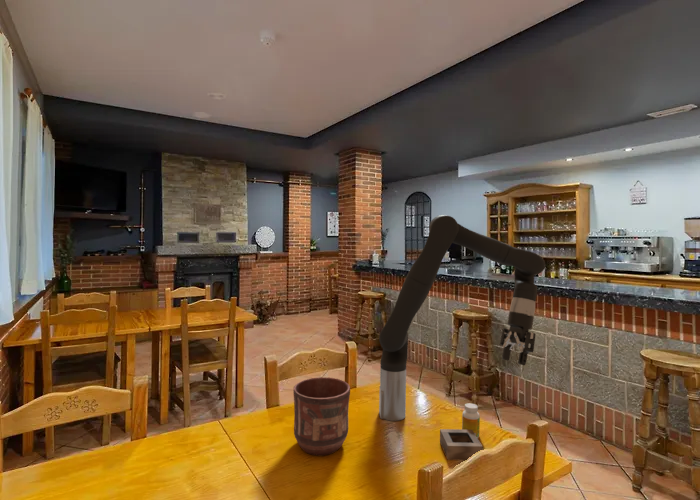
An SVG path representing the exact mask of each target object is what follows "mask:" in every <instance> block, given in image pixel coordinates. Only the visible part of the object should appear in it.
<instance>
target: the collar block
mask: <svg viewBox="0 0 700 500" xmlns="http://www.w3.org/2000/svg"><path fill="white" fill-rule="evenodd" d="M439 444H440V445H441V447H442V450H443V452H444V454H445V456H446V459H447V460H449V461H454V460H456V461H458V460H459V461H467V460H466V459H468V458H469V457H471V456H472V455H473V454H475V453H476V452H478V451H480V450H484V449H483V444H482V443H481V442H480V440H479V437H478V438H477V437H476V435H475V434H474V432H473V430H462V429H459V428H458V429H457V428H455V429H451V428H450V429H449V428H443V429H441V428H440V429H439Z"/></svg>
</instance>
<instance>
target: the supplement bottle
mask: <svg viewBox="0 0 700 500" xmlns="http://www.w3.org/2000/svg"><path fill="white" fill-rule="evenodd" d="M478 409H479V406H478V405H477V404H475V403H469V402H468V403H465V404H464V410H463V411H462V415H461V417H462V419H461V421H462V422H461V423H462V424H461V430H473V432H474V434H475V435H476V437H477V438H478V439H479V437H480V427H481V425H480V421H481V420H480V418H481V417H480V413H479V412H478Z"/></svg>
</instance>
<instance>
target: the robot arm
mask: <svg viewBox="0 0 700 500" xmlns="http://www.w3.org/2000/svg"><path fill="white" fill-rule="evenodd" d="M428 230H429V233H428V236H427V239H426V241H425V244H424V247H423V249H422V251H421V253H420V254H419V255H418V257H417V258H416V260H415V261H414V263H413V264H412V265H411V267H410V269H409V270H408V272H407V275H406V277H405V279H404V281H403V284H402V287H401V289H400V291H399V294H398V296H397V299H396V301H395V302H396V303H395V305H394V307H393V309H392V312H391V314H390V316H389V318H388V319H387V321H386V323H385V324H384V326H383V328H382V329H381V330H380V332H379V337H378V341H379V344H380V347H381V348H382V354H381V357H380V368H379V369H380V374H379V375H380V377H379V379H380V380H379V392H378V393H379V394H378V395H379V400H378V410H379V411H378V412H379V413H378V414H379V418H380V420H381V419H383V420H386V421H392V422H395V421H396V422H397V421H402V420H404V419H405V418H406V413H407V411H406V409H407V408H406V407H407V406H406V405H407V404H406V401H407V400H406V399H407V398H406V396H407V395H406V394H407V363H408V354H409V353H408V352H409V351H408V350H409V349H408V348H409V333H408V331H409V329H410V326H411V324H412V323H413V322H412V321H413V320H414V317H416V314H418V312H419V311H420V309H421V307H422V306H423V304H424V303H425V301H426V299H427V298H428V295H429V293H430V291H431V289H432V288H433V287H432V286H433V285H434V282H435V279H436V278H437V274H438V272H439V270H440V267H441V264H442V263H443V259H444V258H445V256H446V254H447V252H448V250H449V248H450V247H451V245H452V244H455V245H459V246H461V247H463V248H465V249H468V250H470V251H472V252H474V253H476V254H478V255H479V256H482V257H484V258H485V259H488V260H490V261H492V262H495V263H497V264H500V265H502V266H507V267H513V268H514V290H513V294H512V300H511V303H510V307H509V313H508V318H507V325H508V326H509V328H506V327H503V329H502V333H501V336H500V337H501V338H500V343H499V345H500V346H502V348H503V351H502V356H501V359H502V360H504V361H510V357H511V351H512V348H513V347H514V346H515V345H517V346H518V347H519V349H520V350H519V355H518V361H517V363H518V365H522V366H526V365H527V359H528V354H530V353H534V351H535V343H536V342H535V341H536V333H533V332H531V331H530V330H532V329H533V325H534V319H535V318H534V317H535V314H536V313H535V311H536V301H537V296H538V286H537V285H536V284H535V276H537V275H540V274H541V273H543V272H544V270H545V268H546V262H545V260H544V258H543V257H542V256H540V255H539V254H537V253H535V252H532V251H530V250H526V249H522V248H518V247H514V246H512V245H510V244H507V243H505V242H503V241H501V240H499V239H495V238H494V237H493V238H492V237H490V236H488V235H485V234H482V233H479V232H476V231H473V230H471V229H469V228H467V227H466V226H463V225H462V224H460V223H458V221H457V220H456V218H454V217H453V216H451V215H447V214H440V215H436V216H435V217H434V218H432V220H431V221H430V222H429V228H428ZM529 346H530V347H529Z"/></svg>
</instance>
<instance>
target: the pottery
mask: <svg viewBox="0 0 700 500" xmlns="http://www.w3.org/2000/svg"><path fill="white" fill-rule="evenodd" d="M350 396H351V387H350V384H349V383H347V382H346V381H345V380H342V379H339V378H333V377H325V376H324V377H320V376H319V377H311V378H307V379H304V380H301V381H299V382H297V383H296V384H295V385H294V386H293V404H294V405H293V406H294V409H293V411H294V413H293V414H294V420H293V422H294V423H293V435H294V438H295V439H296V442H297V444H298V446H299V447H300V448H301V449H302V450H303V451H304V452H305V453H307V454H308V455H312V456H328V455H331V454H333V453H335V452H336V451H337V450H339V449H340V448H341V447H342V446H343V444H344V442H345V440H346V438H347V436H348V434H349V433H348V432H349V404H350V398H351V397H350Z"/></svg>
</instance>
